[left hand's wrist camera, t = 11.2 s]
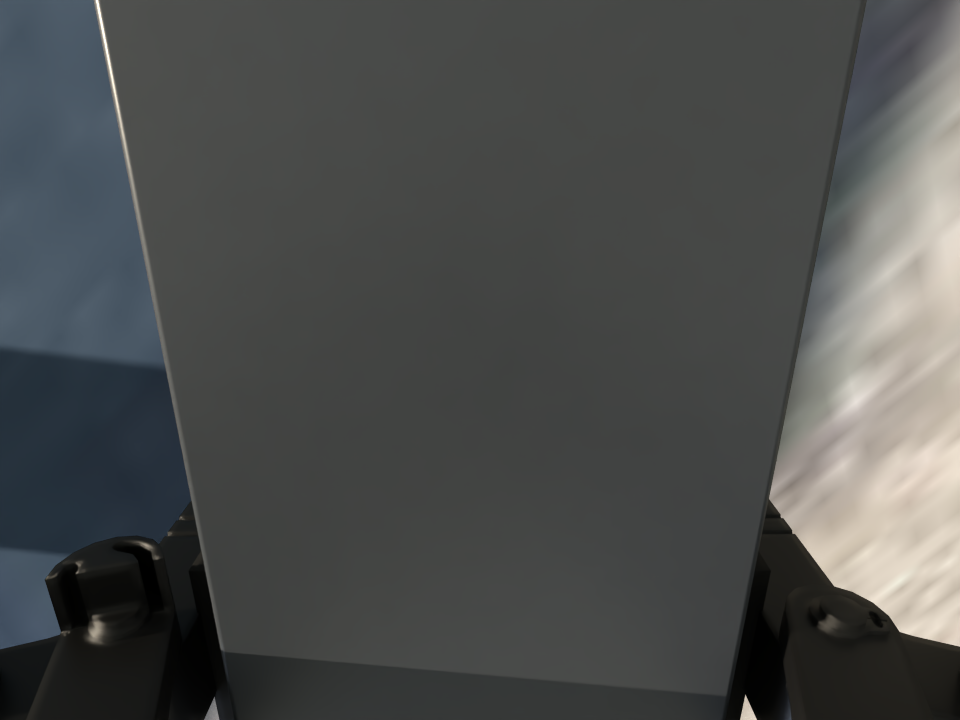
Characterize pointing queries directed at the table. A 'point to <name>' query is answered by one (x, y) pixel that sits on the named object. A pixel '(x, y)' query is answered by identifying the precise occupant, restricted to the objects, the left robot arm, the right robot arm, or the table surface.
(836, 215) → the table surface
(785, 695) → the left robot arm
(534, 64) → the post
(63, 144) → the table surface
